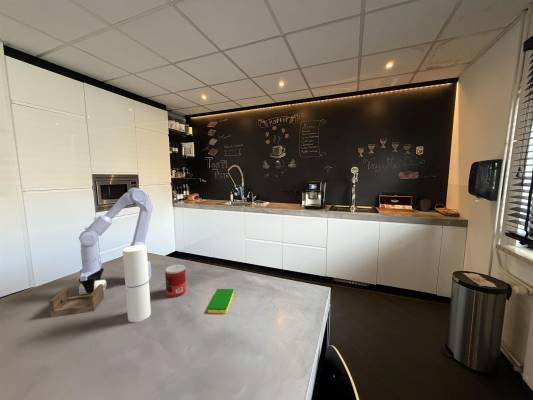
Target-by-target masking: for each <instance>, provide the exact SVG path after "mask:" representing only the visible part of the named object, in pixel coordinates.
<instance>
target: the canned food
mask: <svg viewBox="0 0 533 400" xmlns="http://www.w3.org/2000/svg"><path fill="white" fill-rule="evenodd" d="M164 272H165V273H164V274H165V275H164V276H165V290H166V295H167V297H169V298H177V297H179V296H183V295H184V294H185V292H186V290H187V282H186V279H187V278H186V267H185V265H184V264H172V265H170V266H168V267H166V268H165V269H164Z"/></svg>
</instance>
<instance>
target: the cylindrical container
mask: <svg viewBox="0 0 533 400" xmlns="http://www.w3.org/2000/svg"><path fill="white" fill-rule="evenodd" d="M147 248H148V247H147V245H134V246H130V245H129V246H127V247H124V248H123V249H122V257H123V258H122V261H123V271H124V272H123V273H124V283H125V296H126V299H125V300H126V311H127V313H126V314H127V320H128V322H130V323H139V322H141V321H144V320H146V319H147V318H149V317H150V316H151V314H152V310H151V309H152V307H151V296H150V295H151V293H150V292H151V291H150V280H149V276H148V261H149V259H148V249H147Z"/></svg>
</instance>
